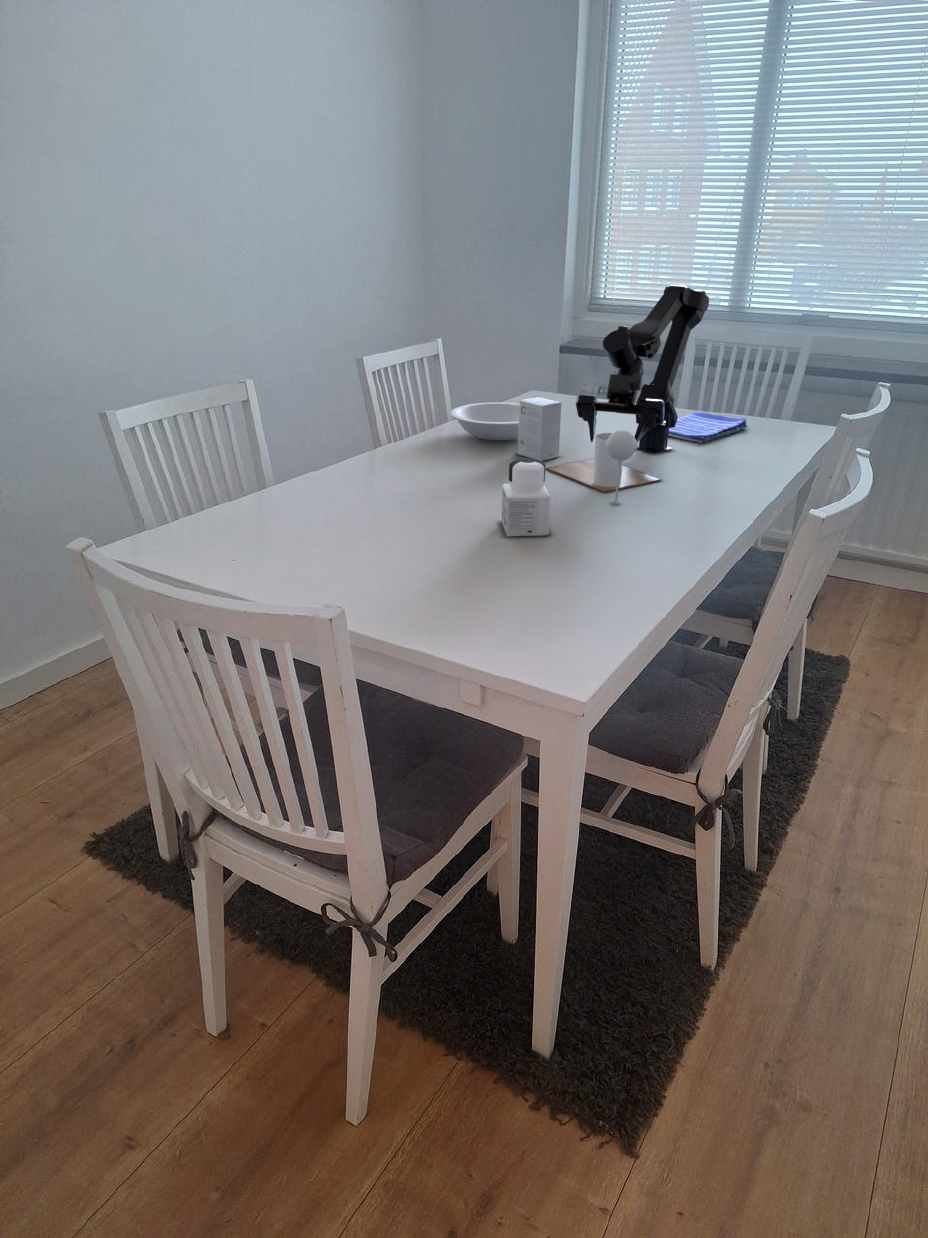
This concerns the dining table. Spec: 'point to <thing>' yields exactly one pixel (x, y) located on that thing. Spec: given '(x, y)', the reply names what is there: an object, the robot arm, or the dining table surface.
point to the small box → (539, 428)
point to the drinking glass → (605, 463)
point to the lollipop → (620, 449)
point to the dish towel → (705, 427)
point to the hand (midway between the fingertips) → (612, 442)
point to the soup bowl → (489, 420)
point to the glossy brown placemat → (585, 475)
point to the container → (526, 499)
